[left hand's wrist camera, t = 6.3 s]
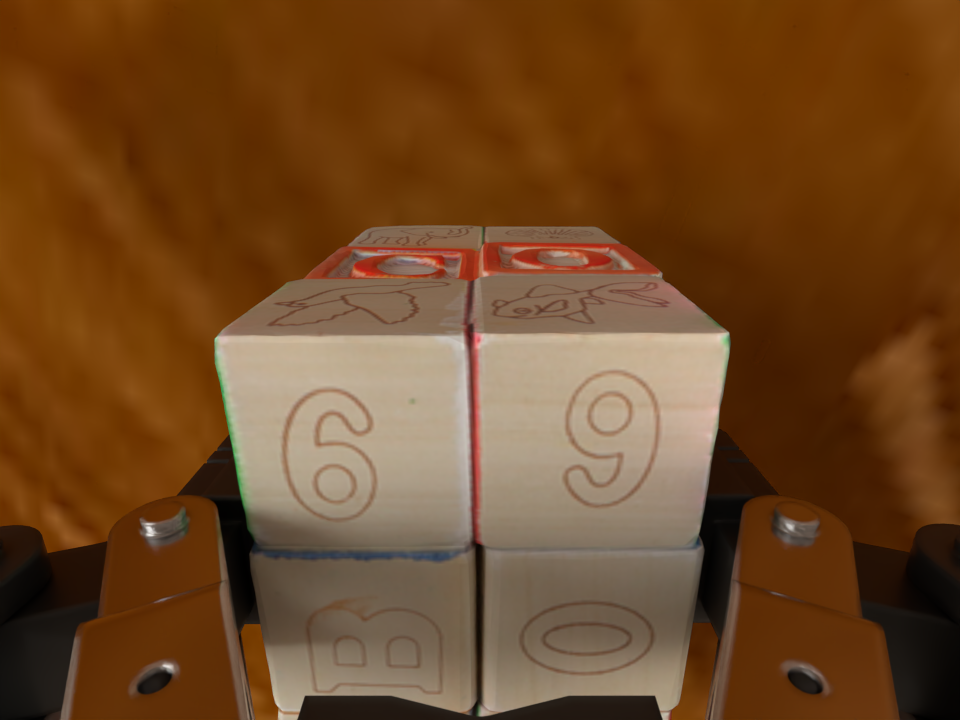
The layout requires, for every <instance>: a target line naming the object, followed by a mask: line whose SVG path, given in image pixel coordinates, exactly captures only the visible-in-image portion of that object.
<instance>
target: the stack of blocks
mask: <svg viewBox="0 0 960 720" xmlns="http://www.w3.org/2000/svg"><path fill="white" fill-rule="evenodd" d="M730 345H731V341H730V335H729V332H728V331H726V330H725V329H724V328H723V327H721V326H720V325H719V324H718V323H717V322H715V321H714V320H713V319H712V318H711V317H710V316H708V315H707V314H706V313H705V312H704V311H702V310H701V309H700V308H699V307H698V306H696V305H695V304H694V303H693V302H691V301H690V300H689V299H687V298H686V297H685V296H684V295H682V294H681V293H680V292H679V291H678V290H677V289H675V288H674V287H673V286H672V285H670V284H669V283H667V282H665V281H664V280H663V279H662V272H661V271H660V270H659V269H657V268H656V267H655V266H653V265H652V264H651V263H649V262H648V261H647V260H645V259H644V258H643V257H641V256H640V255H638V254H637V253H635V252H634V251H633V250H631V249H630V248H629V247H627V246H625V245H622V244H621V243H620V242H619V241H617V240H615V239H614V238H612V237H611V236H610V235H608V234H606V233H605V232H603V231H602V230H601V229H599V228H597V227H479V226H443V225H435V226H389V227H374V228H370V229H367V230H366V231H364V232H363V233H361V234H360V235H359V236H358V237H357V238H356V239H354V240H353V241H352V242H351V243H350V244H349V245H348V246H345V247H341V248H340V249H338V250H337V251H336V252H335V253H333V254H332V255H331V256H330V257H328V258H327V259H326V260H325V261H323V262H322V263H321V264H319V265H318V266H317V267H316V268H314V269H313V270H312V271H311V272H310V273H309V274H308V275H307V276H306V277H305V278H304V279H302V280H296V281H292V282H287V283H286V284H285V285H284V286H283V287H281V288H280V289H279V290H277V291H276V292H274V293H273V294H272V295H270V296H269V297H268V298H266V299H265V300H263V301H262V302H260V303H259V304H258V305H256V306H255V307H253V308H252V309H251V310H249V311H248V312H247V313H245V314H244V315H242V316H241V317H240V318H238V319H237V320H235V321H234V322H233V323H231V324H230V325H228V326H227V327H226V328H224V329H223V330H222V331H221V332H220V334H219V335H218V336H217V337H216V338H215V364H216V368H217V372H218V377H219V381H220V386H221V391H222V397H223V402H224V407H225V413H226V418H227V424H228V429H229V434H230V439H231V444H232V449H233V454H234V459H235V466H236V472H237V479H238V485H239V490H240V495H241V500H242V504H243V508H244V511H245V515H246V522H247V529H248V531H249V533H250V534H251V536H252V538H253V540H254V543H253V546H252V548H251V551H250V554H249V556H250V569H251V575H252V580H253V585H254V589H255V594H256V601H257V607H258V613H259V619H260V625H261V630H262V635H263V640H264V645H265V650H266V655H267V660H268V665H269V670H270V676H271V683H272V690H273V695H274V699H275V703H276V705H277V706H278V707H279V713H278V720H297V719H298V716H299V713H300V709H301V706H302V703H303V700H304V697H305V696H395V697H399V698H403V699H407V700H411V701H415V702H419V703H423V704H427V705H431V706H435V707H439V708H443V709H447V710H451V711H455V712H459V713H463V714H467V715H472V716H488V715H493V714H497V713H501V712H505V711H509V710H513V709H517V708H521V707H525V706H529V705H533V704H537V703H541V702H545V701H549V700H553V699H557V698H561V697H565V696H655V697H656V700H657V703H658V706H659V709H660V713H661V716H662V719H663V720H671V710H672V709H673V708H674V707H675V706H677V705H678V703H679V700H680V696H681V690H682V684H683V678H684V672H685V666H686V660H687V654H688V648H689V642H690V636H691V630H692V624H693V618H694V612H695V606H696V600H697V594H698V588H699V582H700V575H701V569H702V563H703V557H704V551H705V550H704V546H703V543H702V540H701V538H700V536H699V532H700V528H701V523H702V518H703V514H704V508H705V502H706V496H707V490H708V484H709V477H710V469H711V462H712V457H713V451H714V446H715V440H716V436H717V431H718V424H719V412H720V405H721V401H722V397H723V391H724V385H725V378H726V372H727V366H728V359H729V353H730Z"/></svg>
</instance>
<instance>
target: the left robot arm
mask: <svg viewBox="0 0 960 720" xmlns="http://www.w3.org/2000/svg"><path fill="white" fill-rule="evenodd" d="M699 536H700V538H701V540H702V543H703V546H704V550H705V551H704V557H703V563H702V569H701V575H700V582H699V588H698V594H697V600H696V606H695V612H694V618H693V623H711V624H712V626H713V628H714V630H715V632H716V634H717V636H718V643H717V648H716V654H715V660H714V666H713V672H712V679H711V685H710V691H709V697H708V703H707V709H706V715H705V720H960V525H954V524H931V525H926V526H923V527H922V528H920V529H919V530H918V531H917V532H916V535H915V538H914V541H913V544H912V548H911V551H910V552H904V551H899V550H894V549H889V548H884V547H878V546H873V545H868V544H863V543H858V542H854V541H852V536H851V533H850V531H849V529H848V527H847V526H846V525H845V524H844V523H843V521H841V520H840V519H839V518H838V517H837V516H835V515H834V514H832V513H831V512H829V511H827V510H826V509H824V508H822V507H820V506H817V505H815V504H813V503H810V502H807V501H804V500H801V499H797V498H793V497H788V496H780V495H779V494H778V493H777V492H776V491H775V490H774V488H773V487H772V486H771V485H770V484H769V483H768V481H767V480H766V479H765V478H764V477H763V475H762V474H761V473H760V472H759V471H758V470H757V468H756V467H755V466H754V465H753V464H752V463H749V459H748V458H747V457H746V455H745V454H744V453H743V452H742V451H741V450H739V447H738V446H737V445H736V444H735V442H734V441H733V440H732V439H731V438H730V437H729V435H728V434H727V433H726V432H724V431H722V430H721V429H719V428H718V431H717V436H716V440H715V446H714V451H713V457H712V462H711V469H710V477H709V484H708V490H707V496H706V502H705V508H704V514H703V518H702V523H701V528H700V532H699ZM253 543H254V540H253V538H252V536H251V534H250V533H249V531H248V529H247V522H246V515H245V511H244V508H243V504H242V500H241V495H240V490H239V485H238V479H237V472H236V466H235V459H234V454H233V449H232V444H231V439H230V434H229V435H228V437H227V438H226V439H225V440H224V441H223V442H222V444H221V445H220V446H219V447H218V450H217V451H215V452H214V453H213V454H212V455H211V456H210V458H209V459H208V460H207V464H204V465H203V466H202V467H201V468H200V469H199V470H198V471H197V473H196V474H195V475H194V476H193V477H192V478H191V480H190V481H189V482H188V483H187V484H186V485H185V487H184V488H183V489H182V490H181V491H180V492H179V494H178V495H177V496H172V497H167V498H163V499H159V500H156V501H153V502H150V503H147V504H145V505H143V506H140V507H138V508H136V509H134V510H133V511H131V512H129V513H128V514H126V515H125V516H123V517H122V518H121V519H120V520H119V521H118V522H117V523H116V524H115V525H114V526H113V527H112V529H111V531H110V533H109V536H108V541H106V542H102V543H98V544H94V545H88V546H83V547H78V548H73V549H68V550H62V551H57V552H52V553H47V550H46V547H45V544H44V541H43V537H42V535H41V533H40V532H39V531H38V530H37V529H35V528H32V527H29V526H23V525H12V526H2V527H0V720H255V715H254V709H253V703H252V697H251V691H250V685H249V678H248V672H247V666H246V660H245V654H244V648H243V643H242V638H241V630H242V628H243V626H244V624H260V619H259V613H258V607H257V601H256V594H255V589H254V585H253V580H252V575H251V569H250V556H249V554H250V551H251V548H252V546H253ZM297 720H663V719H662V716H661V713H660V709H659V706H658V703H657V700H656V697H655V696H565V697H561V698H557V699H553V700H549V701H545V702H541V703H537V704H533V705H529V706H525V707H521V708H517V709H513V710H509V711H505V712H501V713H497V714H493V715H488V716H472V715H467V714H463V713H459V712H455V711H451V710H447V709H443V708H439V707H435V706H431V705H427V704H423V703H419V702H415V701H411V700H407V699H403V698H399V697H395V696H305V697H304V700H303V703H302V706H301V709H300V713H299V716H298V719H297Z"/></svg>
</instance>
